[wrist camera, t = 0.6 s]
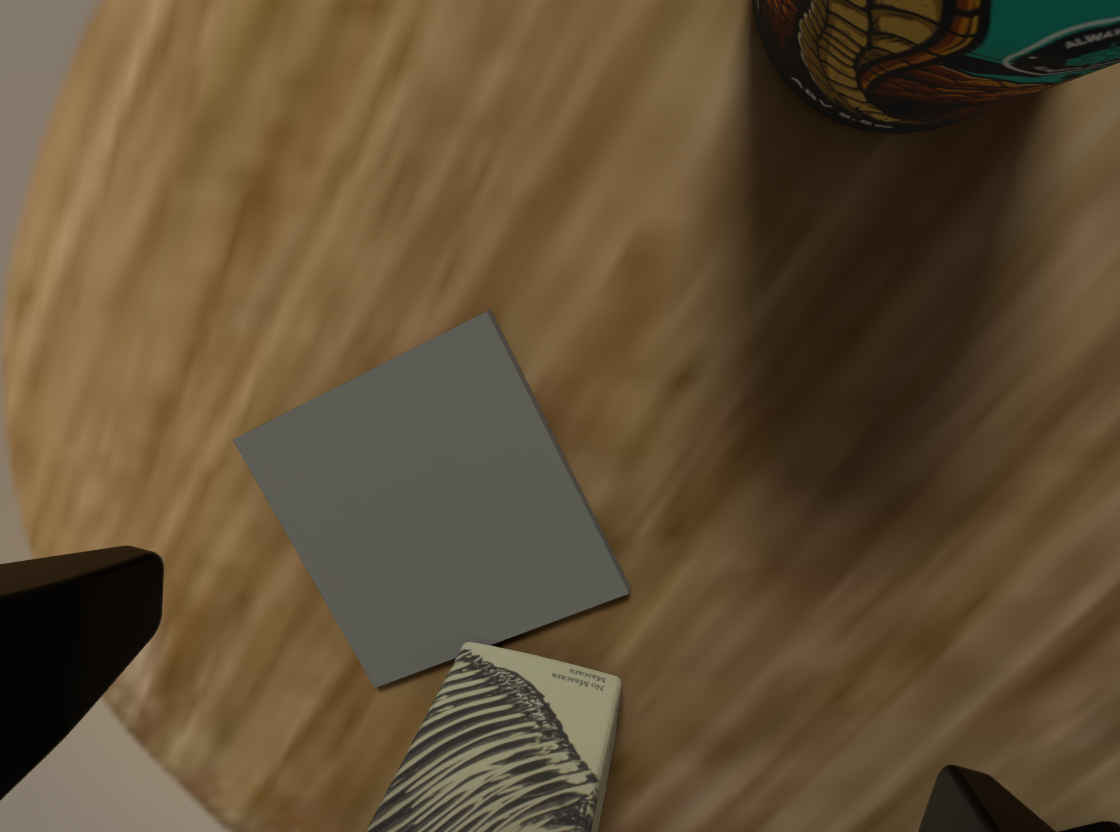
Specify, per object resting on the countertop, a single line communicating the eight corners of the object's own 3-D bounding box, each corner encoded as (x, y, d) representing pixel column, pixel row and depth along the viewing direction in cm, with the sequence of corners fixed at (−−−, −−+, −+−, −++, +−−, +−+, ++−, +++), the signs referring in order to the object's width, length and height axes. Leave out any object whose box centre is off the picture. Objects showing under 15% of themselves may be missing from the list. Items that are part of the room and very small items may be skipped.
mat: (630, 587, 23) (629, 593, 23) (379, 681, 25) (374, 687, 25) (490, 309, 22) (486, 311, 21) (240, 436, 24) (232, 439, 24)
